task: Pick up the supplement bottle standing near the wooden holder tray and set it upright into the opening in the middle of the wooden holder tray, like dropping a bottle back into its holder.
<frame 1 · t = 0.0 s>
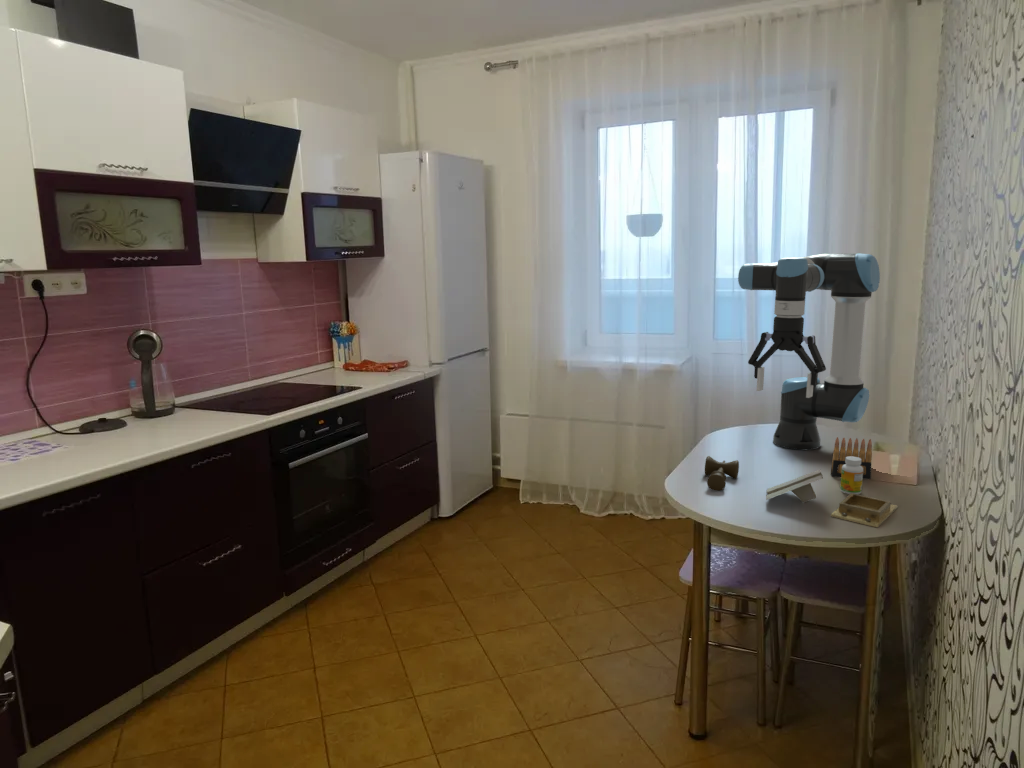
hand: (783, 393, 190), 28 cm above the table, tool pointing down, fingers open, 13 cm apart
grey tablet stand: (791, 501, 188), on the table
wooden holder tray: (864, 512, 180), on the table
ammunition clip: (850, 477, 206), on the table
supplement bottle: (850, 492, 194), on the table
kendama: (719, 481, 205), on the table
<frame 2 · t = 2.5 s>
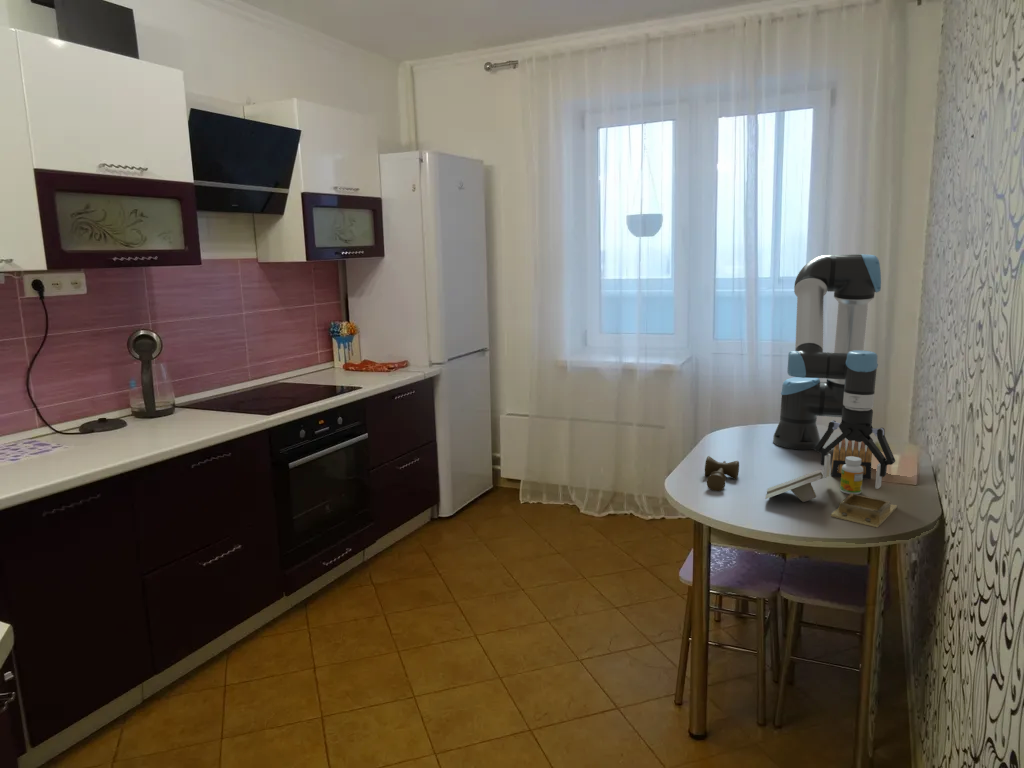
hand: (851, 482, 193), 3 cm above the table, tool pointing down, fingers open, 13 cm apart
nothing on the table moved.
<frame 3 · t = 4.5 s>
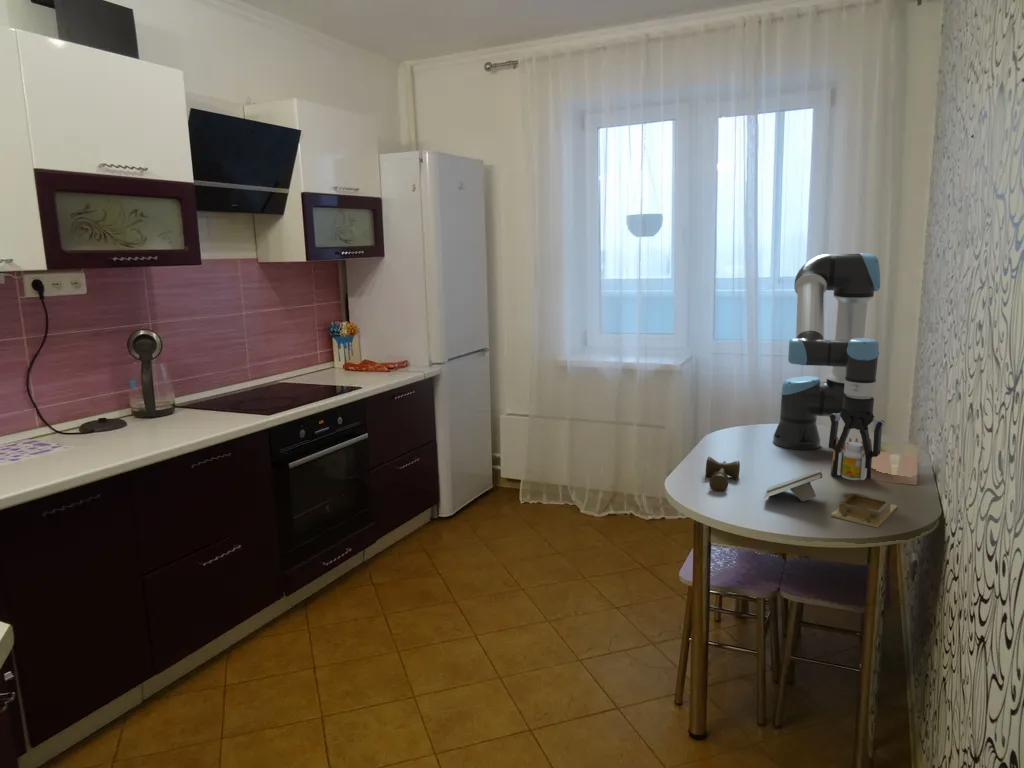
hand: (851, 476, 194), 4 cm above the table, tool pointing down, fingers closed on supplement bottle, 5 cm apart
supplement bottle: (851, 477, 194), point 4 cm above the table, touching gripper
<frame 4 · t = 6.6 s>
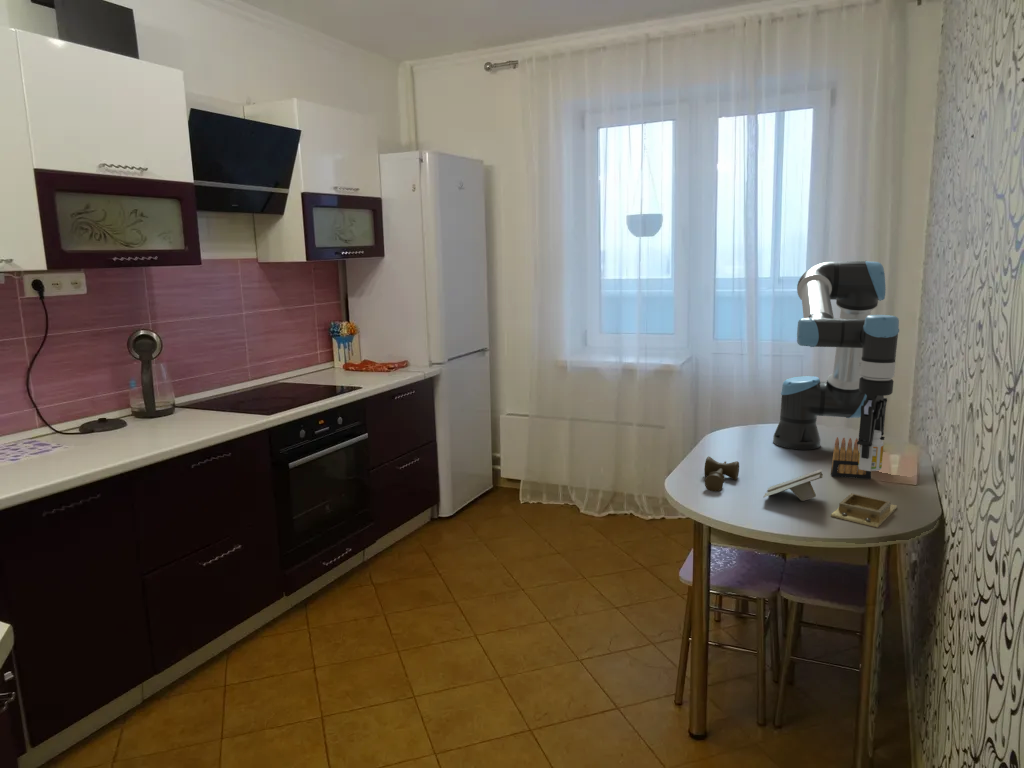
hand: (868, 466, 177), 12 cm above the table, tool pointing down, fingers closed on supplement bottle, 5 cm apart
supplement bottle: (869, 468, 177), point 12 cm above the table, touching gripper
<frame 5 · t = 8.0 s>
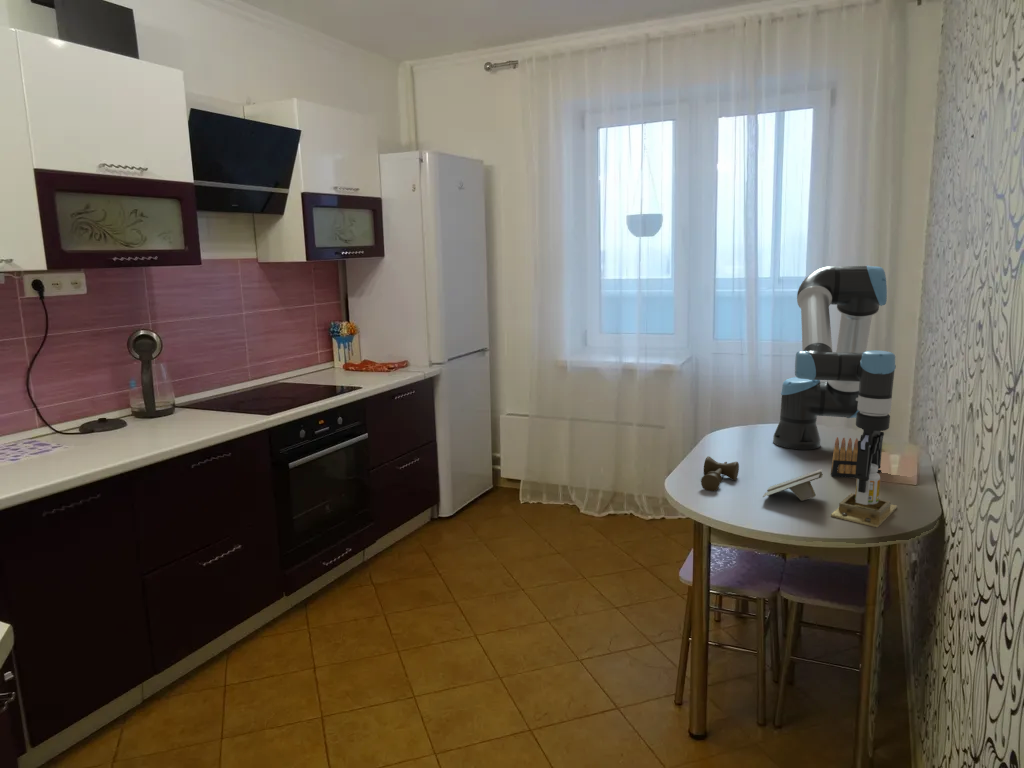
hand: (865, 499, 179), 3 cm above the table, tool pointing down, fingers closed on supplement bottle, 5 cm apart
supplement bottle: (866, 501, 179), point 3 cm above the table, touching gripper
when the fingers open (3 cm above the table, at t = 8.8 s): supplement bottle drops 2 cm, resting on wooden holder tray.
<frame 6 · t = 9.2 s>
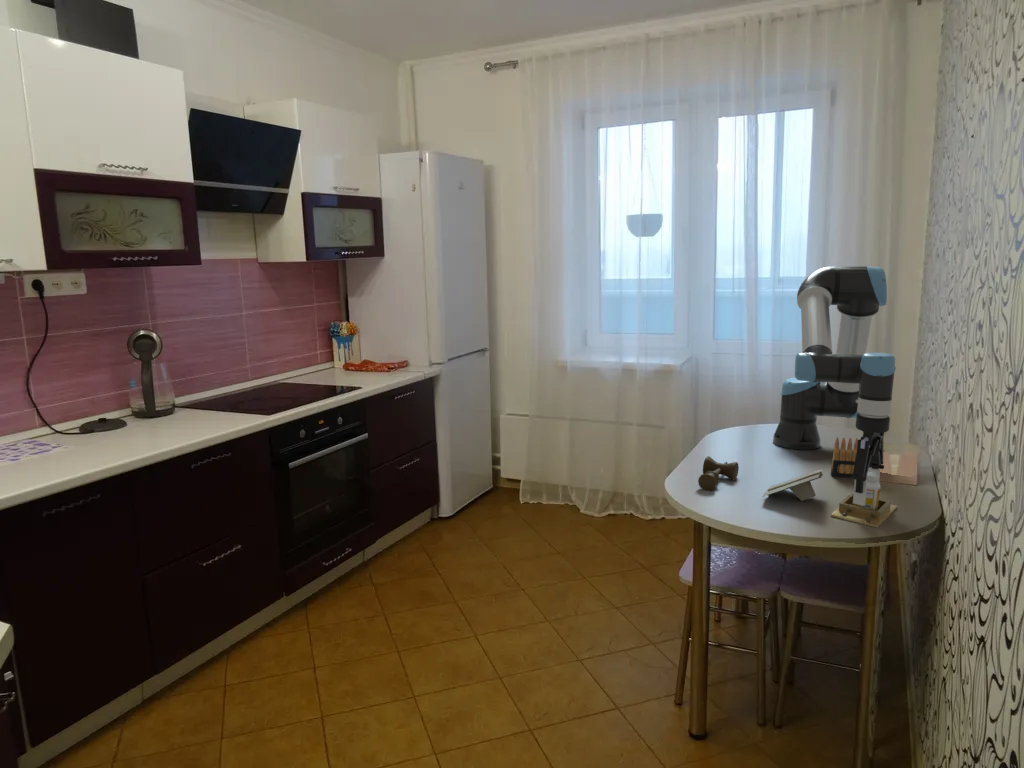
hand: (865, 498, 179), 4 cm above the table, tool pointing down, fingers open, 10 cm apart
supplement bottle: (865, 510, 179), resting on wooden holder tray
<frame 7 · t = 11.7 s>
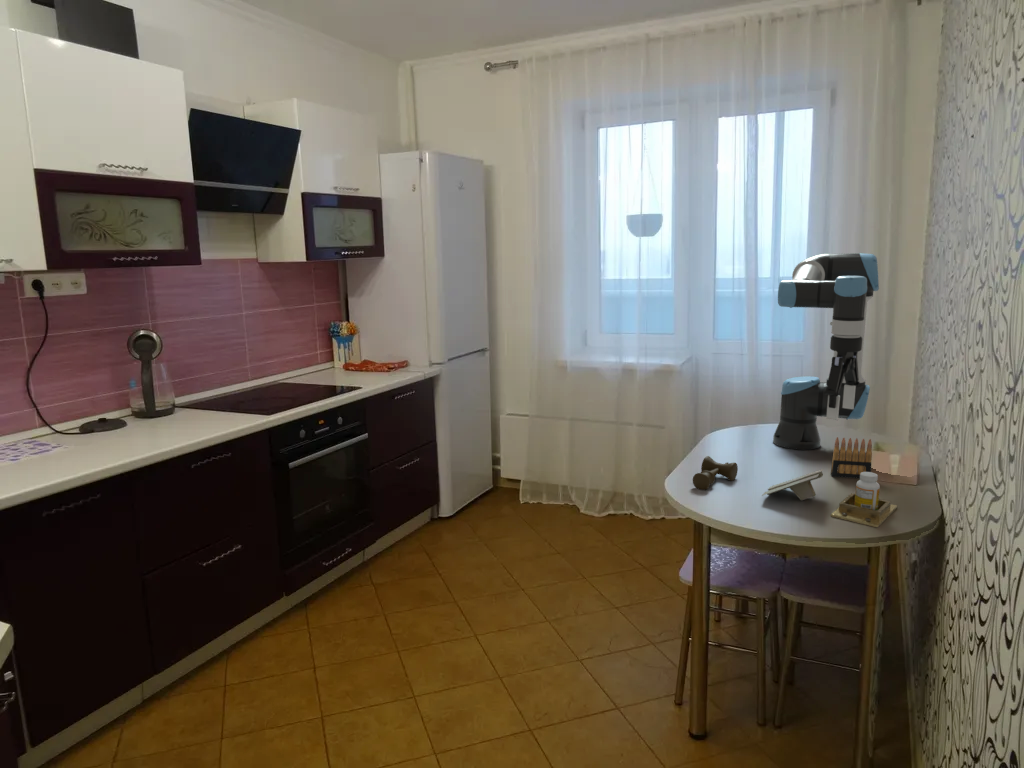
hand: (840, 413, 187), 23 cm above the table, tool pointing down, fingers open, 13 cm apart
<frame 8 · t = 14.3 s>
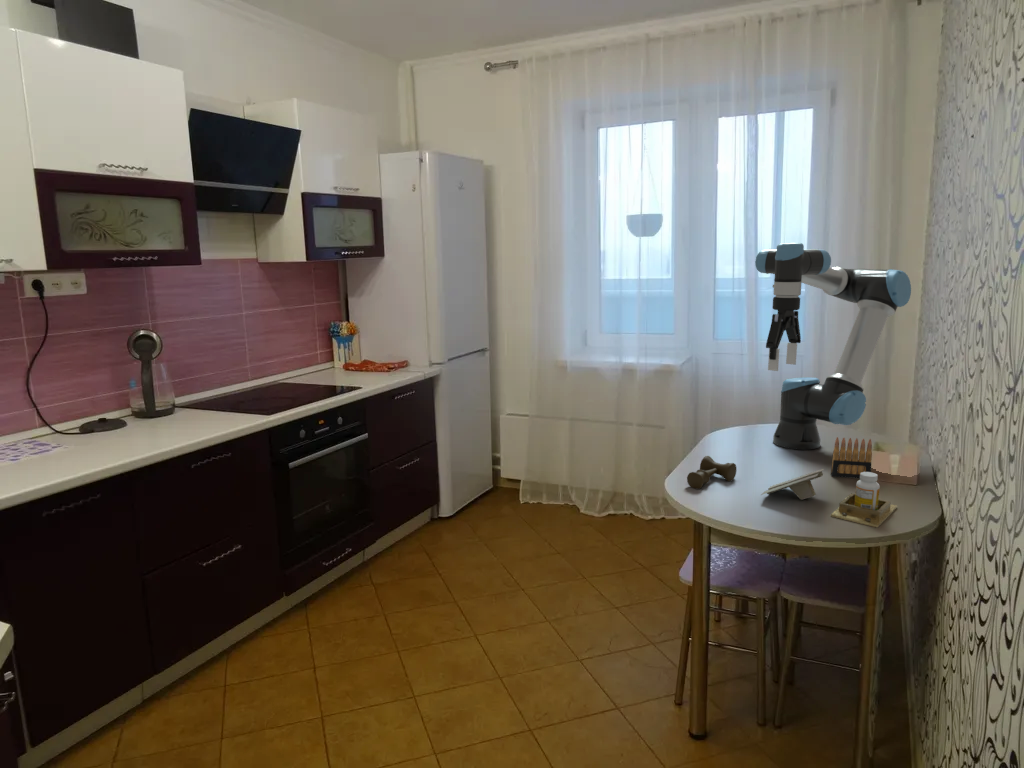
hand: (782, 367, 209), 32 cm above the table, tool pointing down, fingers open, 13 cm apart
at the end: supplement bottle 0.3 cm from the wooden holder tray (horizontally); supplement bottle tilted 0°; supplement bottle resting on wooden holder tray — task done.
